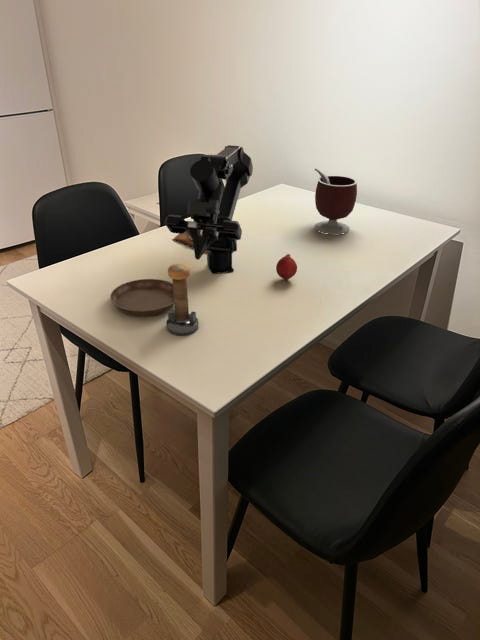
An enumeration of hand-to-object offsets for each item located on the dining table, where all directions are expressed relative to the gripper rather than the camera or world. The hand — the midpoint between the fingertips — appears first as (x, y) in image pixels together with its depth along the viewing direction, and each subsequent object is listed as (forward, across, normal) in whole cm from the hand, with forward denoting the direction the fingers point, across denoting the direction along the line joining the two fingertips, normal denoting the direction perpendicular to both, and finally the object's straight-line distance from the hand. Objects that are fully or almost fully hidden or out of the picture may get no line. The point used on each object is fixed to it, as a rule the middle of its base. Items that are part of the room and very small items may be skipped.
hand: (197, 259), depth 122 cm
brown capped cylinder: (+16, 0, -2) cm, 16 cm away
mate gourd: (-35, +29, +54) cm, 71 cm away
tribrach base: (+18, 0, 0) cm, 18 cm away
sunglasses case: (-17, -12, +36) cm, 42 cm away
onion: (-4, +20, +22) cm, 30 cm away
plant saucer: (+12, -13, +6) cm, 19 cm away
